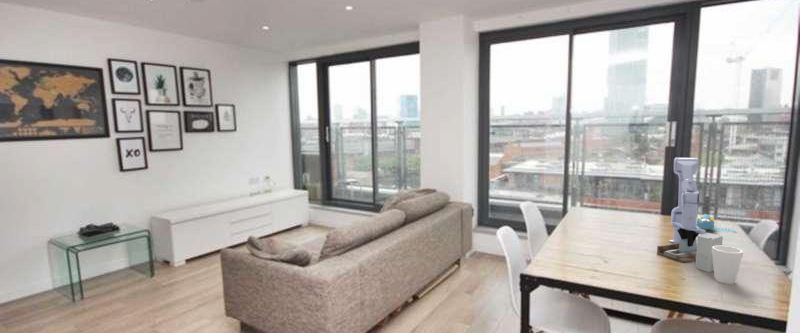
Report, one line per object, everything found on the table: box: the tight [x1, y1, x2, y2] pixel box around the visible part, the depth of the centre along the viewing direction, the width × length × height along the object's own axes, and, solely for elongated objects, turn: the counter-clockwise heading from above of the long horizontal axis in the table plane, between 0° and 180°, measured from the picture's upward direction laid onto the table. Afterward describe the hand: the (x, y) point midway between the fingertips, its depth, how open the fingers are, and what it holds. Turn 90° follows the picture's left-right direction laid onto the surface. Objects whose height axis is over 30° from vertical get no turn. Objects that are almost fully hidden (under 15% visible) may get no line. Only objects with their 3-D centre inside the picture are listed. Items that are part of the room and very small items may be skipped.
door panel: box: [679, 238, 698, 253], centre depth 186 cm, size 8×2×6 cm, turn 106°
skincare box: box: [694, 232, 724, 273], centre depth 169 cm, size 8×6×15 cm
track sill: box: [656, 242, 697, 264], centre depth 185 cm, size 17×13×4 cm
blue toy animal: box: [696, 213, 738, 234], centre depth 226 cm, size 28×9×15 cm
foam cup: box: [712, 244, 744, 285], centre depth 157 cm, size 10×9×13 cm
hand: (687, 245), depth 185 cm, fingers closed on door panel, 2 cm apart
